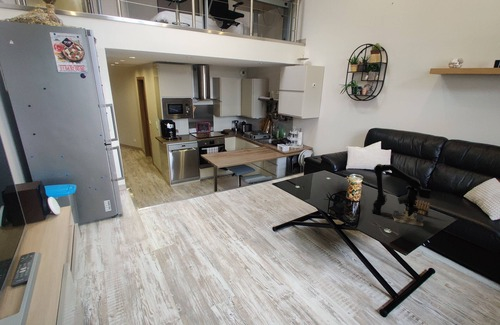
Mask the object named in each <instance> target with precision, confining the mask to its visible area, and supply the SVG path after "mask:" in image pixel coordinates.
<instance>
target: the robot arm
mask: <svg viewBox="0 0 500 325" xmlns="http://www.w3.org/2000/svg"><path fill="white" fill-rule="evenodd" d="M373 171H374V174H375V176H376V185H377V186H376V188H377V197H376V200H374V202H373V203H372V205H373V208H372V209H371V213H372V214H373V215H374V214H375V215H380V216H381V215H382V207H383V206H384V205H385V204H386V203H387V201H388V198H387V196H388V195H387V194H385V192H384V179H383V178H384V177H383V175H384V172H387V171H388V172H389V171H391V172H392V173H394V174H395V175H397V177H399V178H401V179H402V180H404V181H405V182H406V183H407V184H408V186H406V187H405V189H406V190H408V192H407V194H406V196H402V197H397V202H398V204H399V205H405V208H407V210H408V216H409V217H410V216H411V215H412V214H413V213H414V212H418V211H419V209H418V208H417V206H414V205H416V204H417V201H418V196H419V198H421V199H425V200H430V199H431V193H432V190H431V189H426V188H423V186H422V184H421V182H420V179H418V178H416V176H411V175H409V174H407V173H406V172H405V171H403V170H401V169H400V168H398V167H396V166H395V164H393V163H391V164H381V163H378V164H376V165H375V166H374V168H373ZM414 214H415V213H414ZM414 214H413V215H414Z"/></svg>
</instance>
